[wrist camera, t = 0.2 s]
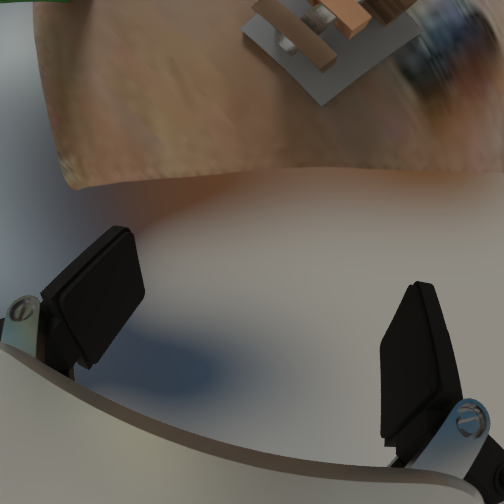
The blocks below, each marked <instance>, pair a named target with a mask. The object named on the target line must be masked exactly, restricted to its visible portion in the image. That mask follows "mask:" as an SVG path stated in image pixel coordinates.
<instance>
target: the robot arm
mask: <svg viewBox="0 0 504 504" xmlns="http://www.w3.org/2000/svg"><path fill="white" fill-rule="evenodd" d="M40 294H41V296H42V299H43V301H42V302H41V303H40V301H39V300H38V298H37V297H35V296H32V295H26V296H23V297H20V298H18V299H17V300H15V301H14V302H13V303H12V304H11V305H10V307H9V308H8V310H7V312H6V316H5V318H2V319H0V504H504V449H502V447H501V446H500V445H499V444H498V443H497V442H495V440H494V439H493V438H491V436H490V435H489V434H488V433H489V430H490V417H489V414H488V412H487V410H486V408H485V407H484V406H483V405H482V404H481V403H480V402H478V401H477V400H475V399H471V398H467V399H463V396H462V389H461V384H460V379H459V374H458V369H457V365H456V360H455V356H454V352H453V348H452V344H451V340H450V336H449V332H448V330H447V327H446V324H445V321H444V317H443V314H442V310H441V307H440V304H439V301H438V297H437V294H436V292H435V288H434V286H433V285H432V284H430V283H424V282H419V281H416V282H415V283H414V284H413V285H409V286H408V288H407V290H406V292H405V295H404V297H403V299H402V301H401V303H400V305H399V307H398V309H397V311H396V314H395V316H394V318H393V320H392V322H391V324H390V326H389V328H388V330H387V331H386V333H385V335H384V337H383V339H382V341H381V345H380V368H381V431H380V433H381V437H382V438H385V447H396V455H397V456H396V457H395V458H394V459H393V460H392V462H391V463H390V464H389V465H388V466H387V467H370V466H355V465H344V464H334V463H326V462H318V461H310V460H303V459H297V458H291V457H285V456H280V455H275V454H270V453H265V452H260V451H255V450H252V449H247V448H243V447H239V446H235V445H232V444H228V443H224V442H220V441H217V440H214V439H210V438H207V437H203V436H200V435H197V434H194V433H191V432H188V431H185V430H182V429H179V428H177V427H174V426H171V425H168V424H166V423H163V422H160V421H158V420H155V419H153V418H150V417H148V416H145V415H143V414H141V413H138V412H136V411H133V410H131V409H129V408H127V407H125V406H122V405H120V404H118V403H116V402H114V401H112V400H109V399H107V398H105V397H103V396H101V395H99V394H97V393H95V392H93V391H91V390H89V389H88V388H86V387H84V386H82V385H80V384H78V383H76V382H75V375H74V364H75V363H76V361H77V363H78V364H79V365H81V366H82V367H84V368H86V369H88V370H89V369H90V368H91V367H92V365H93V364H95V363H97V362H98V361H99V360H100V358H101V357H102V356H103V354H104V353H105V351H106V350H107V348H108V347H109V345H110V344H111V343H112V341H113V340H114V338H115V337H116V336H117V334H118V333H119V331H120V330H121V329H122V327H123V326H124V324H125V323H126V322H127V320H128V319H129V318H130V316H131V315H132V313H133V312H134V311H135V309H136V308H137V307H138V305H139V304H140V303H141V301H142V300H143V298H144V295H145V288H144V284H143V279H142V274H141V270H140V265H139V260H138V255H137V250H136V244H135V239H134V235H133V233H131V231H130V229H129V228H126V227H121V226H112V227H111V228H110V229H109V230H107V231H106V232H105V233H104V234H103V235H102V236H101V237H99V238H98V239H97V240H96V241H95V242H94V243H93V244H91V245H90V246H89V247H88V248H87V249H86V250H85V251H84V252H83V253H81V254H80V255H79V256H78V257H77V258H76V259H75V260H74V261H73V262H72V263H71V264H69V265H68V267H66V268H65V269H64V270H63V271H62V272H61V273H60V274H59V275H58V276H57V277H56V278H55V279H54V280H53V281H52V282H51V283H50V284H49V285H48V286H47V287H46V288H45V289H44V290H43V291H42V292H41V293H40Z"/></svg>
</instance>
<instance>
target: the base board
mask: <svg viewBox="0 0 504 504" xmlns="http://www.w3.org/2000/svg"><path fill="white" fill-rule="evenodd" d="M277 1H278V2H280V3H281V4H282V5H283V6H285V7H286V8H287V9H288V10H290V11H291V12H292V13H293V14H294V15H295V16H297V17H298V18H301V17H302V16H303V15H304V14H306V13H307V12H308V11H310V10H311V9H312V8H313V6H312V5H310V4H309V3H308V2H307V0H277ZM360 6H362V5H361V4H360ZM362 7H363V6H362ZM363 8H364V7H363ZM364 9H365V8H364ZM365 10H366V9H365ZM366 11H367V10H366ZM367 12H368V11H367ZM368 13H369V12H368ZM369 14H370V13H369ZM370 15H371V14H370ZM371 16H372V15H371ZM240 30H241V31H243V32H244V33H245V34H246V35H247V36H249V37H250V38H251V39H252V40H253V41H254V42H256V43H257V44H258V45H259V46H260V47H261V48H262V49H263V50H265V51H266V52H267V53H268V54H269V55H270V56H271V57H272V58H273V59H274V60H275V61H277V62H278V63H279V64H280V65H281V66H282V67H283V68H284V69H285V70H286V71H287V72H288V73H289V74H290V75H291V76H292V77H293V78H294V79H295V80H296V81H297V82H298V83H299V84H300V85H301V86H302V87H303V88H304V89H305V90H306V91H307V92H308V93H309V94H310V95H311V96H312V97H313V99H314V100H315V101H316V102H317V103H318V104H319V105H320V106H321V107H322V106H323V105H325V104H326V103H327V102H328V101H330V100H331V99H332V98H333V97H335V96H336V95H337V94H338V93H340V92H341V91H342V90H344V89H345V88H346V87H347V86H349V85H350V84H351V83H353V82H354V81H355V80H357V79H358V78H359V77H360V76H362V75H363V74H364V73H366V72H367V71H368V70H370V69H371V68H372V67H374V66H375V65H377V64H378V63H379V62H381V61H382V60H383V59H385V58H386V57H388V56H389V55H390V54H392V53H393V52H395V51H396V50H397V49H399V48H400V47H402V46H403V45H404V44H406V43H407V42H409V41H410V40H412V39H413V38H415V37H416V36H418V35H419V34H421V33H422V32H423V31H422V30H421V28H420V27H419V26H418V25H417V24H416V23H415V22H414V20H413V19H412V18H411V17H410V16H409V15H408V14H407V13H406V12H403V13H402V14H401V15H400V16H399V17H398V18H397V19H396V20H394V21H393V22H391V23H390V24H388V25H387V26H385V27H383V26H382V25H381V24H380V23H379V22H378V21H377V20H376V19H375V18H374V17H373V16H372V17H371V19H370V20H369V22H368V23H367V25H366V27H365V28H364V29H362V30H361V31H360V32H358V33H357V34H356V35H354V36H353V37H352V38H350V39H349V40H348V39H347V38H346V37H345V36H344V35H343V34H342V33H341V32H340V31H339V30H338V29H337V28H336V27H335V26H334V25H333V24H332V25H331V26H330V27H329V28H327V29H326V30H325V31H323V32H322V33H321V34H319V35H318V36H319V37H320V38H321V39H322V40H323V41H324V42H325V43H326V44H327V45H328V46H329V47H330V48H331V49H332V50H333V51H334V52H335V53H336V54H337V59H336V62H335V64H334V65H333V66H331V67H330V68H329V69H328V70H326V71H325V72H324V73H322V72H321V71H320V70H319V69H318V68H317V67H316V66H315V65H314V64H313V63H312V62H311V61H310V60H309V59H308V58H307V57H306V56H305V55H304V54H303V53H302V52H301V51H299V52H297V53H296V54H295V55H294V56H293V57H292V56H291V55H290V54H289V53H287V52H286V51H285V50H284V49H283V48H282V47H281V46H280V45H279V44H278V43H276V42H275V41H274V39H276V38H277V37H278V36H279V35H280V34H281V33H280V32H279V31H278V30H276V29H275V28H274V27H273V26H272V25H271V24H270V23H269V22H267V21H266V20H265V19H264V18H263V17H262V16H260V15H259V14H258V13H257V14H256V15H255V16H253V17H252V18H251V19H250V20H249V21H248V22H247V23H246V24H245V25H244V26H243V27H242V28H240Z"/></svg>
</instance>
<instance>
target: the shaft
mask: <svg viewBox="0 0 504 504" xmlns="http://www.w3.org/2000/svg"><path fill="white" fill-rule="evenodd" d="M355 1H356V2H357V3H358V4H359V5H360V4H362V3H363V2H365V1H366V0H355ZM299 19H300V20H301V21H302V22H304V23H305V24H306V25H307V26H308V27H309V28H310V29H311V30H312V31H313V32H315V33H316V34H317V35H319V34H321V33H322V32H323V31H325V30H326V29H327V28H329V27H330V26H331V25H332V24H334V23H335V22H336V21H338V19H337V18H336V17H335V16H334V15H333V14H332V13H331V12H330V11H329V10H327V9H326V8H325V7H324V6H323V5H322V4H321V3H319V4H317V5H316V6H315V7H313V8H312V9H311V10H310V11H308V12H307V13H306V14H304V15H303V16H302V17H301V18H299ZM274 41H275V42H276V43H278V44H279V45H280V46H281V47H282V48H283V49H284V50H285V51H286V52H287V53H289V54H290V55H291V56H292V57H293V56H294V55H295V54H296V53H297V52H299V51H300V50H299V49H298V48H297V47H296V46H295V45H294V44H293V43H292V42H291V41H290V40H289V39H287V38H286V37H285V36H284V35H283V34H282V33H281V34H280V35H279V36H278V37H277V38H276V39H274Z"/></svg>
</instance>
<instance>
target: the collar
mask: <svg viewBox="0 0 504 504" xmlns="http://www.w3.org/2000/svg"><path fill="white" fill-rule="evenodd" d="M307 2H308V3H309V4H310V5H312V6H313V7H315V6H316V5H317V4H319V3H321V4H322V5H323V6H324V7H325V8H326V9H327V10H329V11H330V12H331V13H332V14H333V15H334V16H335V17H336V18H337V19H338V21H336V22H335V23H334V24H333V25H334V26H335V27H336V28H337V29H338V30H339V31H340V32H341V33H342V34H343V35H344V36H345V37H346V38H347V39H348V40H349V39H350V38H352V37H353V36H354V35H356V34H357V33H358V32H360V31H361V30H362V29H364V28H365V27H366V25H367V23H368V22H369V20H370V19H371V17H372V16H371V15H370V14H369V13H368V12H367V11H366V10H365V9H364V8H363V7H362V6H360V5H359V4H358V3H357V2H356V1H355V0H307Z"/></svg>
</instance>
